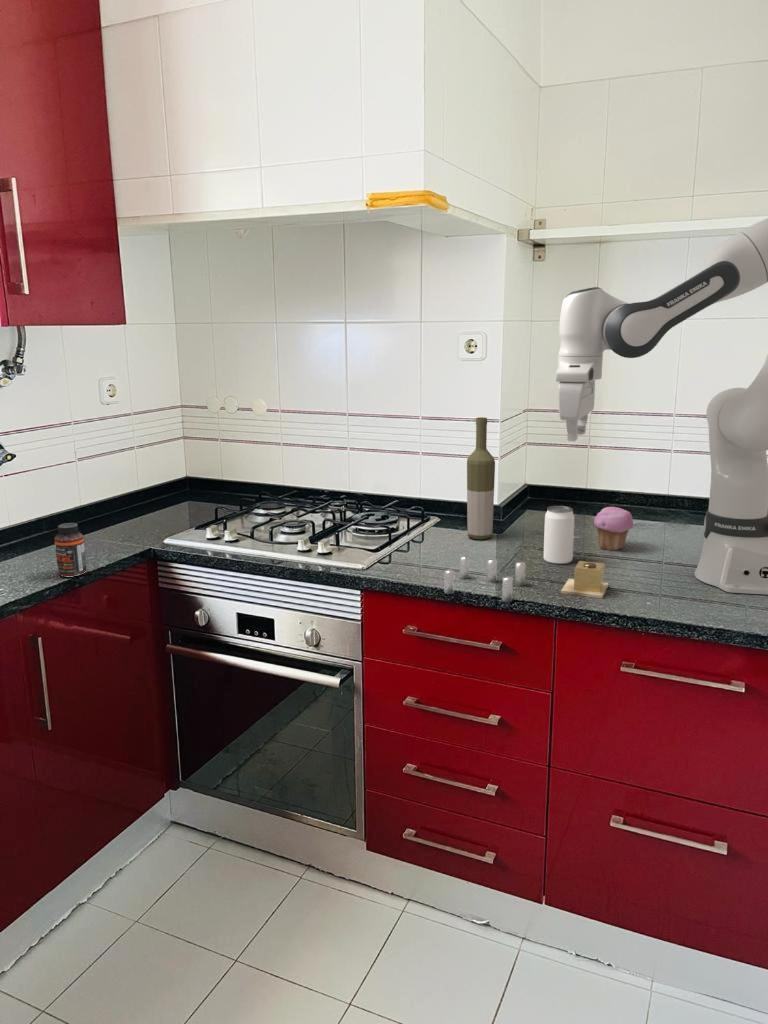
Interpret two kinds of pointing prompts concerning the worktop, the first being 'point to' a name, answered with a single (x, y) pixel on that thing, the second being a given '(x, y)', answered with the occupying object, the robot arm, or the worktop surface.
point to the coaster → (570, 590)
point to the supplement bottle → (70, 550)
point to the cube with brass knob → (589, 576)
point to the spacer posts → (491, 577)
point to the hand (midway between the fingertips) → (576, 437)
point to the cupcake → (613, 527)
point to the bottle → (480, 486)
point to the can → (559, 535)
